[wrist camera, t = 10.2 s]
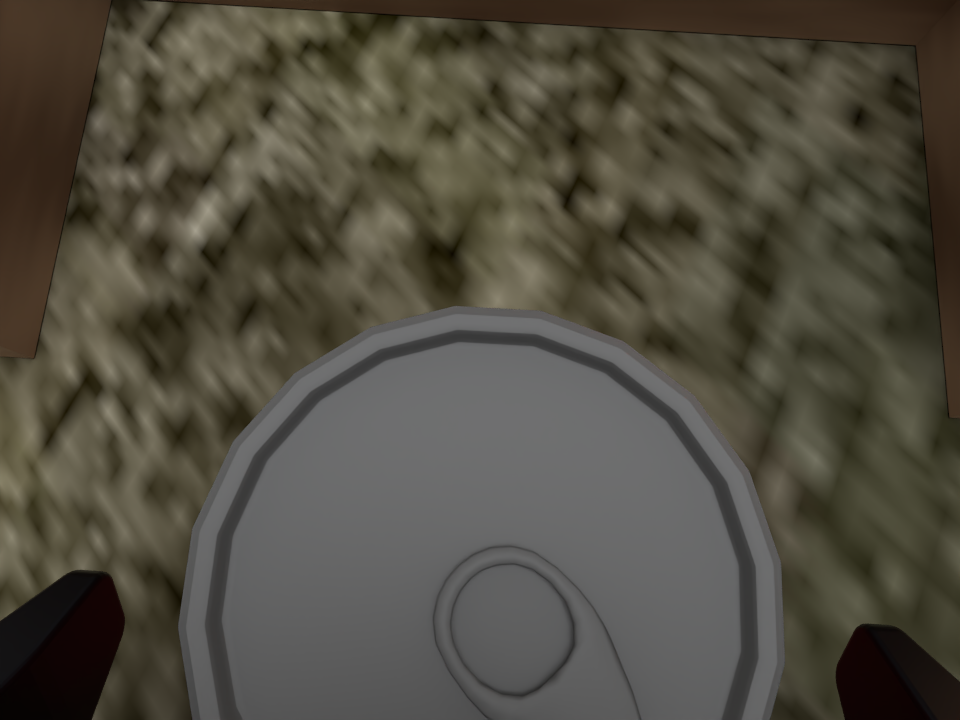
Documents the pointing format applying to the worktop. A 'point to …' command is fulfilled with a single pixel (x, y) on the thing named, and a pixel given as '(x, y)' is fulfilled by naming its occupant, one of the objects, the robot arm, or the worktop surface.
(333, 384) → the beer can
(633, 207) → the worktop surface
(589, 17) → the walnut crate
